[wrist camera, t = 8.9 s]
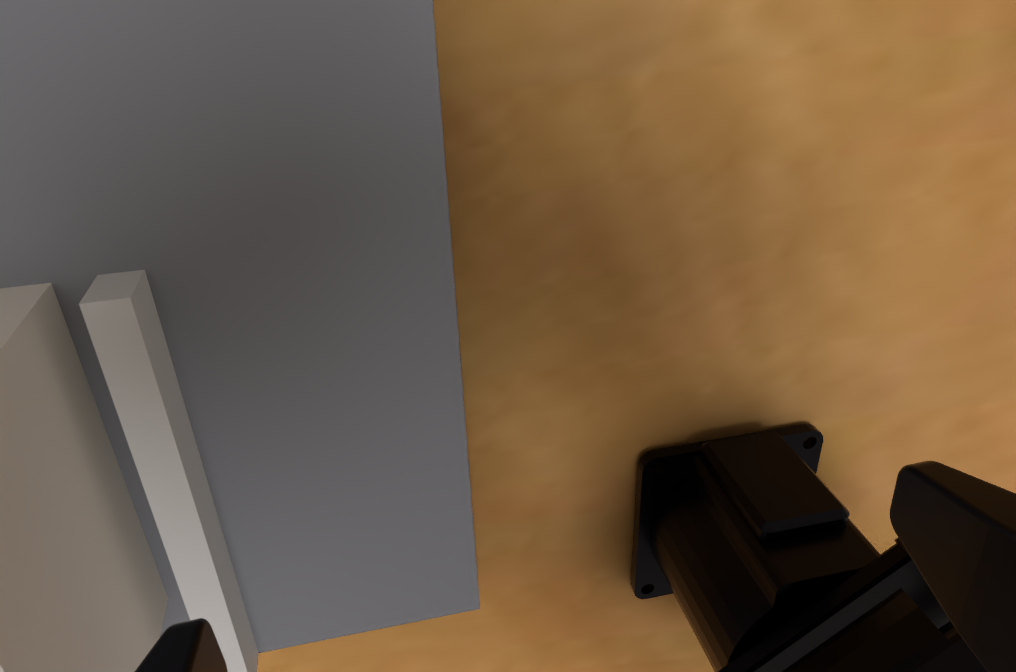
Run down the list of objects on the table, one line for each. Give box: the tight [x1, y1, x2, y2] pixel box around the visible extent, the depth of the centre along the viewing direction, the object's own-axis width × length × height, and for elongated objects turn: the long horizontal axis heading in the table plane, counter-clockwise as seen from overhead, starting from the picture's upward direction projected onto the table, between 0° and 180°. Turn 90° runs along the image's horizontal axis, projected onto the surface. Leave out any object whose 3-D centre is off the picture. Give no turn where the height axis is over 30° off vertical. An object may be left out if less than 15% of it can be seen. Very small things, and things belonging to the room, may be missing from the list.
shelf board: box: [0, 0, 480, 672], centre depth 17 cm, size 24×16×4 cm, turn 2°
